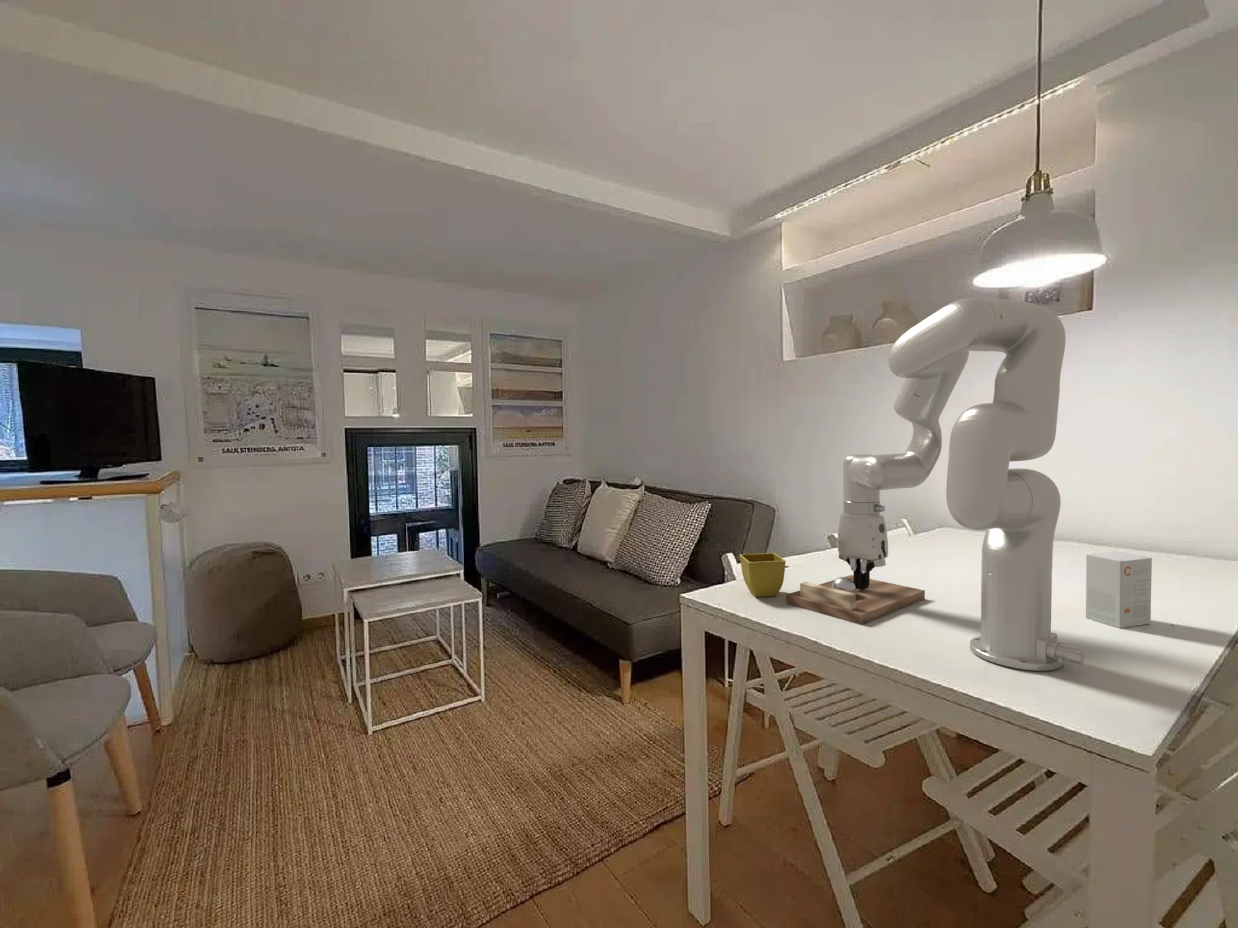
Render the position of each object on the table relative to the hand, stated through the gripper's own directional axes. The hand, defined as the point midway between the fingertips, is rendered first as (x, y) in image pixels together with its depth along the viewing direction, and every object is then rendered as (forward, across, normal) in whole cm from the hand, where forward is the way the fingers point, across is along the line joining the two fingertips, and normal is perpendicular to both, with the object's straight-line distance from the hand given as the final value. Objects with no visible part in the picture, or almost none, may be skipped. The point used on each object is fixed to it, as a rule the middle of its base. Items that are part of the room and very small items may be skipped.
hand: (861, 588), depth 123 cm
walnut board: (+3, 0, +2) cm, 4 cm away
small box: (+3, -39, -24) cm, 46 cm away
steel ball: (-1, +1, +6) cm, 6 cm away
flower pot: (+3, +17, +14) cm, 22 cm away
